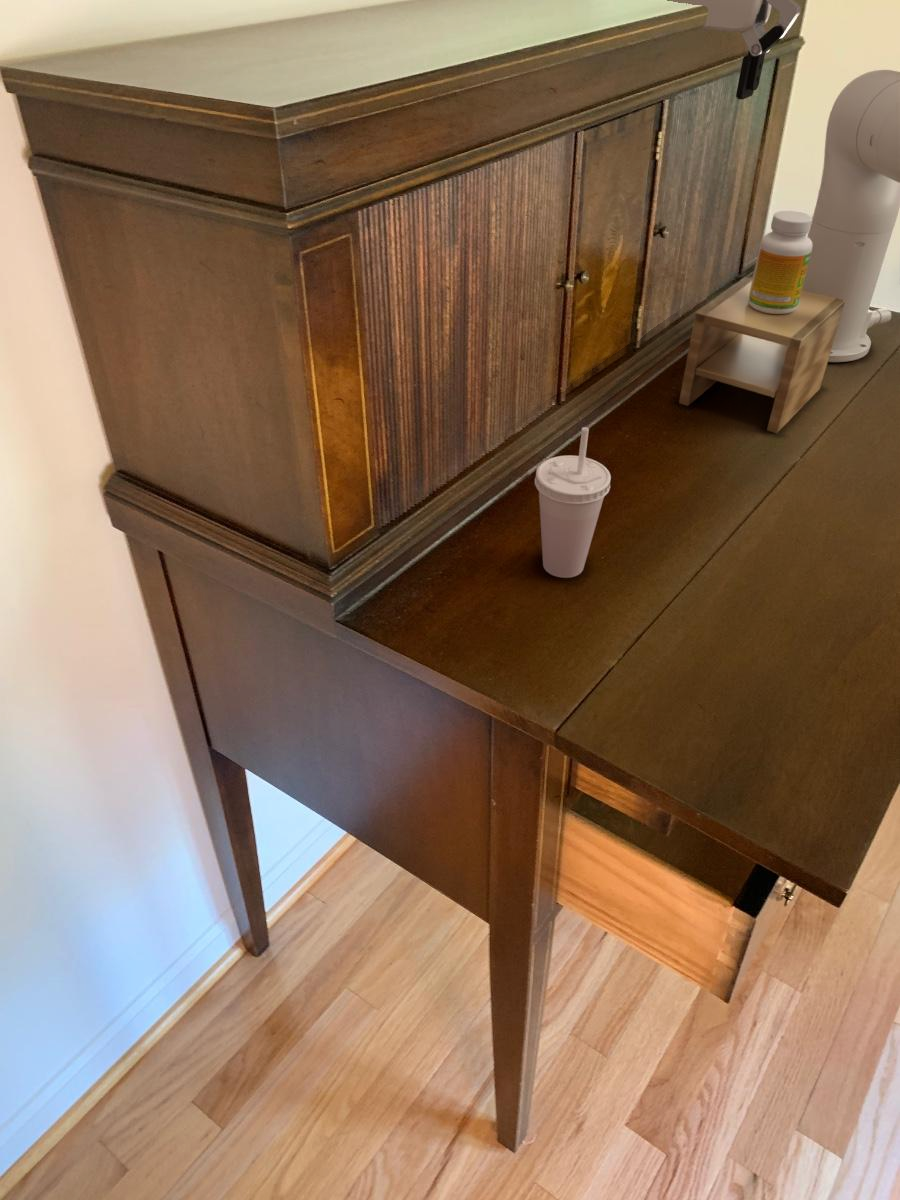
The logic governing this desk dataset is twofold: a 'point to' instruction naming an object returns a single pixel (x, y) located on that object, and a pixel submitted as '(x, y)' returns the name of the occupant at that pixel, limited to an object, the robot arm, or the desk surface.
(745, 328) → the shelf stand
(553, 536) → the smoothie
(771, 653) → the desk surface
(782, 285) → the supplement bottle
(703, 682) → the desk surface
